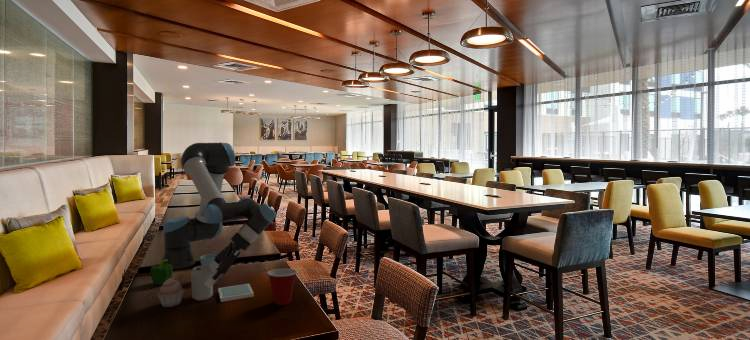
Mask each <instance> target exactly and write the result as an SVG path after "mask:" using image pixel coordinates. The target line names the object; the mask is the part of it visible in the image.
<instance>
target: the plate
mask: <svg viewBox="0 0 750 340" xmlns="http://www.w3.org/2000/svg"><path fill="white" fill-rule="evenodd" d="M217 290H218V296H219V300H220V303H224V302H229V301H237V300H241V299H248V298H253V297H255V293H254V291H253V289H252V287H251V284H250V283H244V284H237V285H231V286H224V287H218V289H217Z"/></svg>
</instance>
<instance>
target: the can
mask: <svg viewBox="0 0 750 340" xmlns="http://www.w3.org/2000/svg"><path fill="white" fill-rule="evenodd" d="M211 275H212V270H211V269H210V266H206V265H204V266H201V265H197V266H194V267H193V268H192V271H191V272H190V280H191V283H190V284H191V297H192V299H193V300H195V301H197V302H198V301H206V300H209V299H210V298H211V297H212V296H213V295H214V286H213V285H214V284H213V285H212V286H211V287H210V288H209V287H207V286H206V285H205V284H204V283H205V282H206V280H207V279H208V278H209V277H210V276H211Z"/></svg>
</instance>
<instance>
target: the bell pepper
mask: <svg viewBox="0 0 750 340" xmlns="http://www.w3.org/2000/svg"><path fill="white" fill-rule="evenodd" d="M161 261H162V260H161ZM167 261H168V260H163V261H162V262H160V264H159V263H158V264H157V263H156V264H155V265H153V266H151V268H150V270H149V271H150V277H151V280H152V283H154V284H155V285H157V286H163V283H164V282H165V281H166V280H168V279H169V278H172V276H173V271H174V269H173V267H172V265H171V264H168V263H165V264H163V263H164V262H167Z"/></svg>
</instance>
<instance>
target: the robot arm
mask: <svg viewBox="0 0 750 340" xmlns="http://www.w3.org/2000/svg"><path fill="white" fill-rule="evenodd" d="M180 160H181V161H180V162H181V167H182V169H183V171H184V172H185V173H186V174H187V175H189V177H190V179H191V180H192V183H193V184H194V187H195V188H196V191H197V193H198V194H199V196H200V201H199V208H198V209H199V210H198V211H196V212H195V214H194V217H193V218H190V216H187V215H183V216H182V215H181V216H177V217H172V218H170V219H167V220H165V221H164V223H163V244H164V245H163V246H164V247H163V248H164V251H163V255H162V257H161V258H162V259H161V262H162V261H163V260H168V261H167V262H164V263H163V264H165V263H168V264H171V265H172V267H173V270H178V269H185V268H189V267H191V266H194V265H196V258H195V255H194V253H193V250H192V246H191V243H192V242H193V243H194V242H199V241H206V240H211V239H216V238H218V237H219V236H220V235H221V234H222V231H223V223H228V222H234V221H240V220H247V221H245V222H244V223H243V224H242V226H241V227H239V229H238V232H235V233H234V234H233V236H232V237H231V238H230V240H231V241H230V243H229V244H228V245H227V246H225V247H224V248H223V249H222V250H221V251H220V252H218V255H217V256H215V259H214V260H215V261H213V262H212V263H211V264H210V265H209V266H210V269H211V270H212V272H213V271H214V270H215V269H216V271H215V272H214V273H213V274H212V275H211V276H210V277H209V278H208V279H207V280H206V282H205V283H204V284H205V285H206V286H207V287H209V288H210V287H211V286H212V285H214V284H215V283H216V282H217V281H218V279H220V277H221V276H222V275H225V274H226V273H227V272H228V270H230V268H231V266H232V265H233V264H234V262H235V261H236V259H237V258H238V256H240V254H241V251H240V250H242V251H245V252H246V251H247V250H248V249H249V247H250V246H251V244H252V243H254V242H255V241H256V240H258V239H259V236H260V235H261V234H262V233H263V232H264V231H265V229H266V228H267V227H268V226H269V225H270V224H271V223H273V220H275V218H276V217H277V212H276V211H275V210H274V209H273V208H272V207H271V206H270V205H269V204H267V203H265V202H263V203H262V204H261V205H260V204H259V203H257V201H255V200H254V199H252V198H250V197H247V196H245V197H242V198H240V199H239V200H238V201H234V202H233V201H231V202H226V199H224V197H223V195H222V188H223V182H224V177H225V175H226V174H227V173H228V172H229V168H231V167H234V166H235V164H236V154H235V150H234V147H233V146H232V145H231V144H230V143H228V142H196V143H192V144H191V145H189V146H187V147H186V148H185V150H184V151H183V152H182V155H181V157H180ZM161 262H160V263H161ZM217 267H218V268H217Z"/></svg>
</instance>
